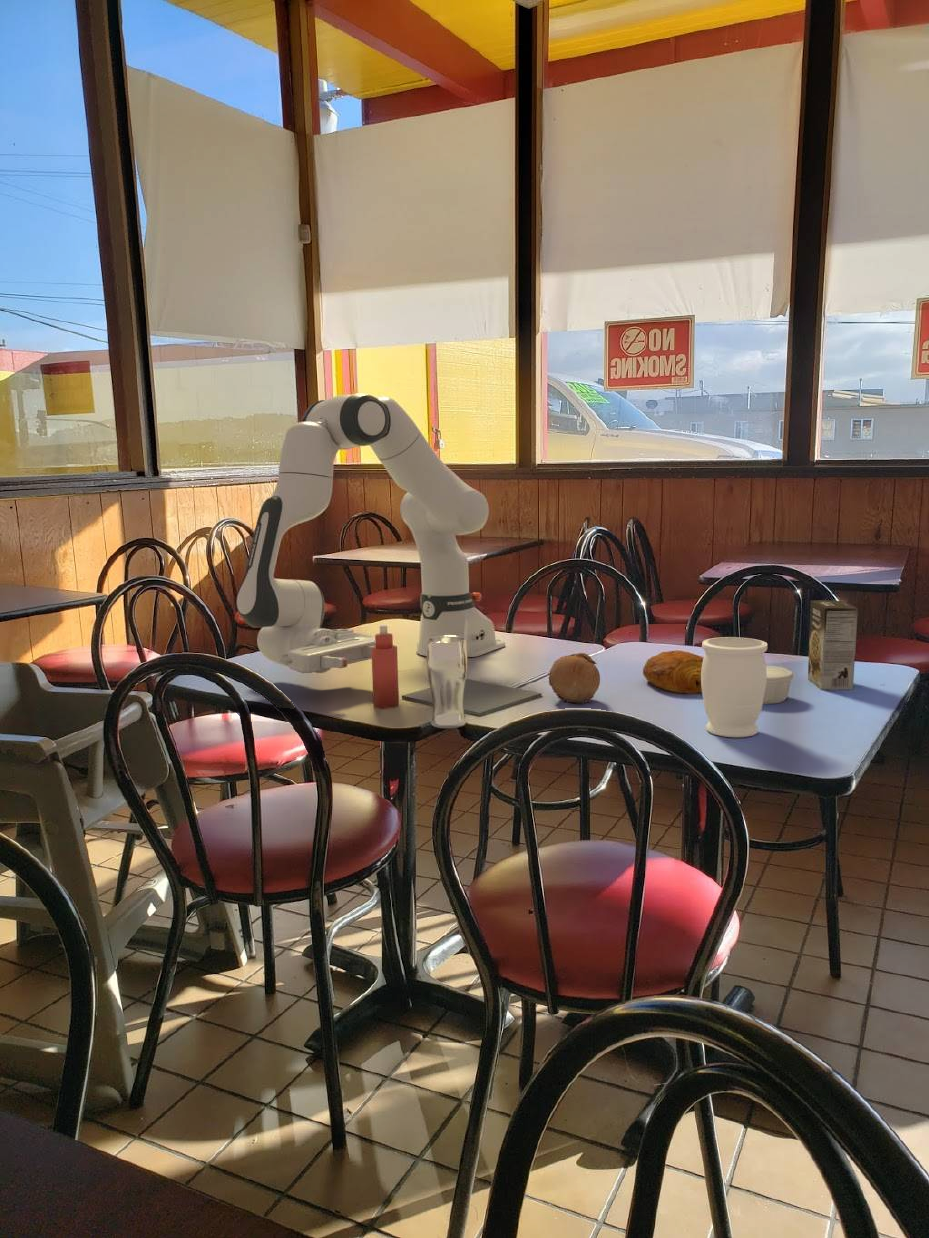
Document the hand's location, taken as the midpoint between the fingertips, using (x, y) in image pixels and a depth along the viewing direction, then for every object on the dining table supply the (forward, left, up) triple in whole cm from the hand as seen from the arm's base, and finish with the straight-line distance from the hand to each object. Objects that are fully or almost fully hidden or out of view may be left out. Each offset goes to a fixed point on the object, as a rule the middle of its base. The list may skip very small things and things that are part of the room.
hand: (363, 659), depth 181 cm
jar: (-24, +64, -8) cm, 69 cm away
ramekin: (-47, +58, -8) cm, 75 cm away
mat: (-14, +15, -8) cm, 22 cm away
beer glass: (+2, +24, -8) cm, 25 cm away
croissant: (-47, +42, -8) cm, 63 cm away
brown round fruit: (-24, +32, -8) cm, 41 cm away
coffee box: (-65, +64, -8) cm, 92 cm away
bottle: (0, +6, -8) cm, 10 cm away
